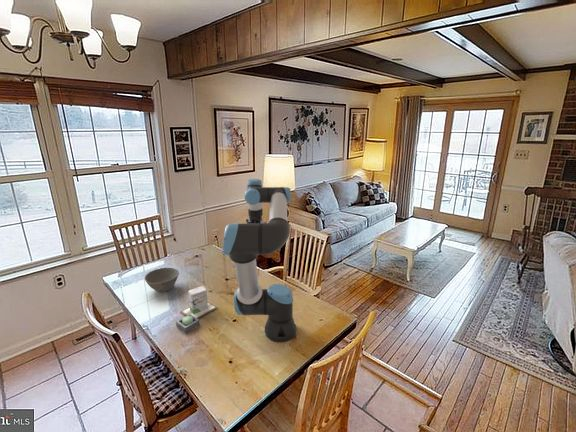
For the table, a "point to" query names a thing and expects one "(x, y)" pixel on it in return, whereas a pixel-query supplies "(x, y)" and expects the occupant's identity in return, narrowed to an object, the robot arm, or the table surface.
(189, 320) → the button
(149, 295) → the table surface
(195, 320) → the button housing
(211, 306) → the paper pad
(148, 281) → the bowl
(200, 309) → the ink box
